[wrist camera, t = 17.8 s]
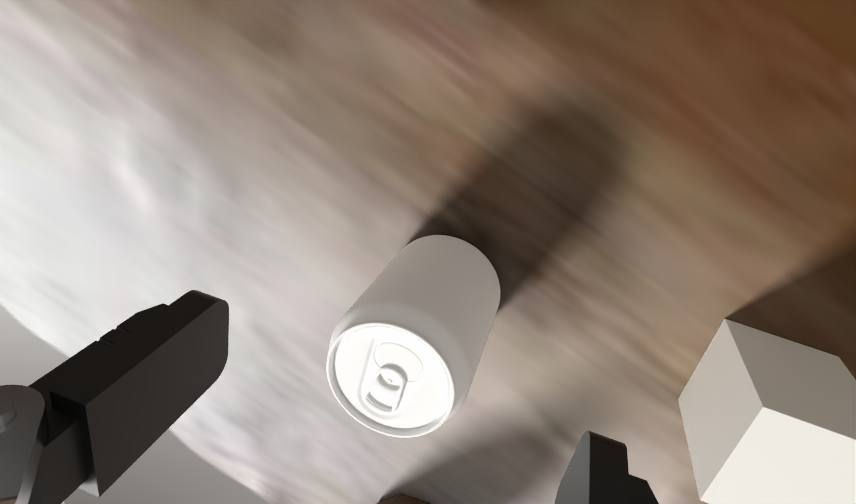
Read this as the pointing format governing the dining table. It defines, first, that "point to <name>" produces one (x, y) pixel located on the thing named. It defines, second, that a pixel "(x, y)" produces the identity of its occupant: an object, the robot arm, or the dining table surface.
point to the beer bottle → (402, 500)
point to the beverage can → (415, 337)
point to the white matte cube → (770, 421)
